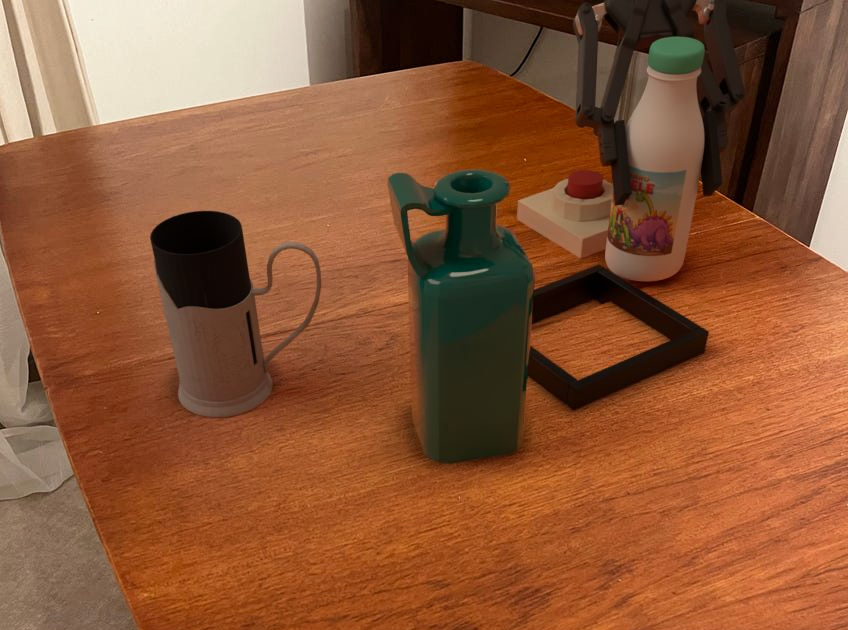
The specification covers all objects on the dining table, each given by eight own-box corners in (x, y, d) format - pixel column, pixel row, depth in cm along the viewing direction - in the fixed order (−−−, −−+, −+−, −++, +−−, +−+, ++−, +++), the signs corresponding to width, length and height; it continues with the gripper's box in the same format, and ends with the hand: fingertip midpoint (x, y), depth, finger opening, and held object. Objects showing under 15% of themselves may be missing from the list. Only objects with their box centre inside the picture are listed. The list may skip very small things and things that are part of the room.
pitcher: (502, 400, 90) (515, 145, 73) (528, 459, 84) (548, 197, 68) (393, 417, 89) (382, 163, 73) (412, 477, 83) (405, 216, 67)
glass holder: (186, 363, 97) (152, 208, 85) (334, 359, 96) (320, 202, 85) (170, 418, 91) (132, 260, 80) (328, 414, 90) (312, 254, 79)
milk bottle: (635, 237, 105) (668, 22, 90) (698, 262, 101) (743, 41, 86) (587, 265, 102) (613, 46, 87) (650, 292, 98) (688, 68, 83)
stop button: (608, 195, 107) (610, 178, 106) (581, 204, 106) (583, 188, 105) (586, 183, 109) (588, 166, 108) (559, 192, 108) (561, 175, 107)
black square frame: (703, 360, 92) (709, 331, 90) (572, 418, 88) (576, 389, 85) (595, 292, 101) (598, 263, 99) (472, 341, 96) (472, 313, 94)
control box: (646, 233, 108) (652, 196, 105) (580, 259, 106) (584, 221, 103) (580, 196, 115) (584, 160, 112) (516, 219, 112) (518, 183, 109)
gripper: (539, -79, 87) (567, 190, 89) (771, -102, 88) (796, 166, 89) (522, -27, 95) (548, 221, 96) (737, -48, 96) (760, 198, 97)
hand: (667, 194), depth 93 cm, fingers closed on milk bottle, 8 cm apart
